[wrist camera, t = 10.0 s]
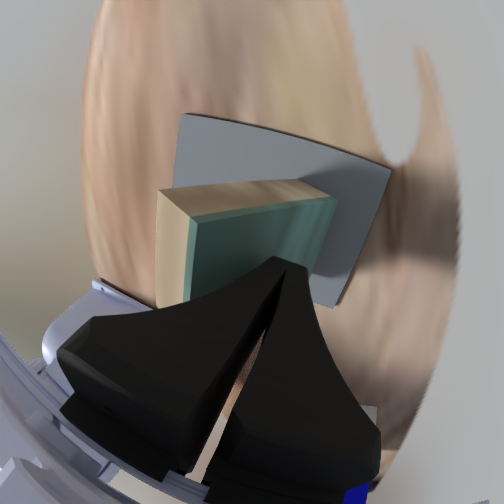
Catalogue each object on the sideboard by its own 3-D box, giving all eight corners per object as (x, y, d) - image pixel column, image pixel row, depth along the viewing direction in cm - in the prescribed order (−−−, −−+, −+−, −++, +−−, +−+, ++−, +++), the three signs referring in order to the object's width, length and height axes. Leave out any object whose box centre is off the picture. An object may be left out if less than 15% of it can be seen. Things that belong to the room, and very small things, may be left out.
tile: (272, 263, 15) (156, 304, 11) (296, 178, 13) (158, 189, 8) (305, 289, 14) (186, 346, 9) (338, 200, 11) (197, 223, 7)
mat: (170, 245, 18) (167, 247, 17) (184, 113, 13) (181, 113, 13) (333, 305, 16) (332, 308, 15) (390, 169, 11) (391, 170, 11)
